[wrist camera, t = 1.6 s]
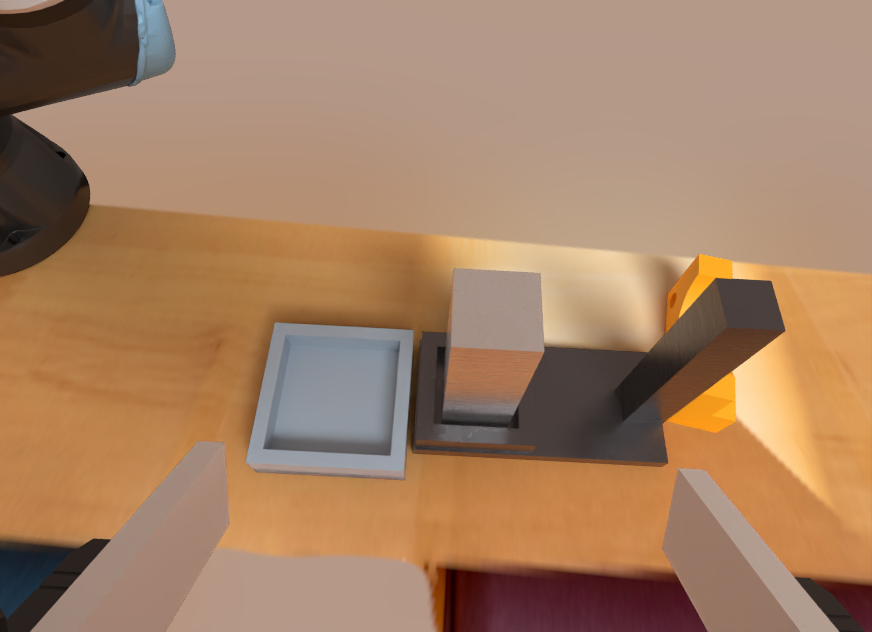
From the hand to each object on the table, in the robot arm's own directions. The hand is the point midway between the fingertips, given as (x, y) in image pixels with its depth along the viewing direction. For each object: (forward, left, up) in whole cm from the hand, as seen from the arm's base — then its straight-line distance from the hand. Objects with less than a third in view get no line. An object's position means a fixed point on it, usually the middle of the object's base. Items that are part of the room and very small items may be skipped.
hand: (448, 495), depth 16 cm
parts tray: (-8, +11, -25) cm, 29 cm away
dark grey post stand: (+8, +12, -25) cm, 29 cm away
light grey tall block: (+3, +12, -24) cm, 27 cm away
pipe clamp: (+21, +17, -26) cm, 37 cm away
